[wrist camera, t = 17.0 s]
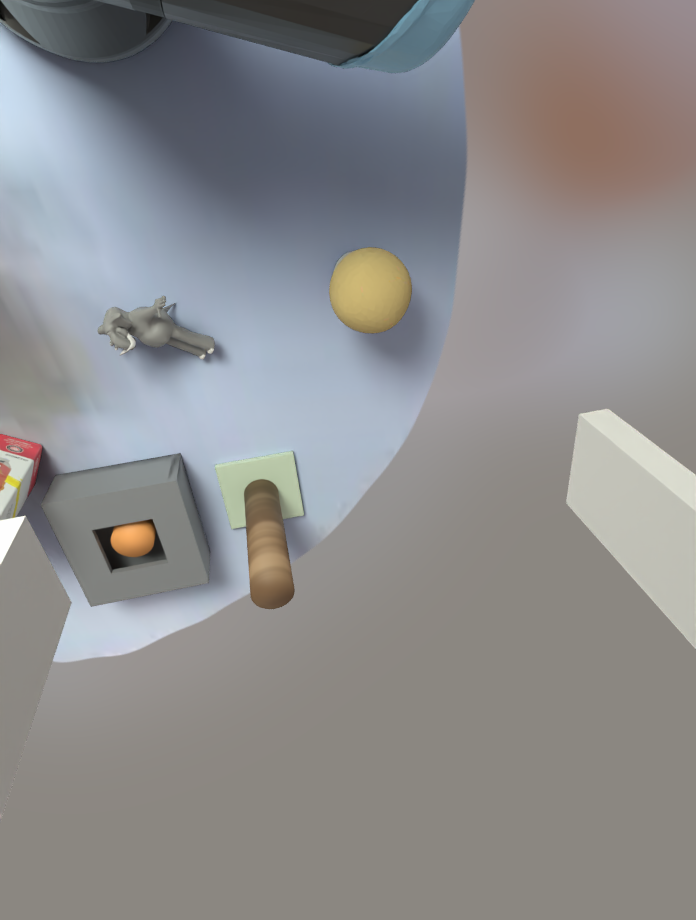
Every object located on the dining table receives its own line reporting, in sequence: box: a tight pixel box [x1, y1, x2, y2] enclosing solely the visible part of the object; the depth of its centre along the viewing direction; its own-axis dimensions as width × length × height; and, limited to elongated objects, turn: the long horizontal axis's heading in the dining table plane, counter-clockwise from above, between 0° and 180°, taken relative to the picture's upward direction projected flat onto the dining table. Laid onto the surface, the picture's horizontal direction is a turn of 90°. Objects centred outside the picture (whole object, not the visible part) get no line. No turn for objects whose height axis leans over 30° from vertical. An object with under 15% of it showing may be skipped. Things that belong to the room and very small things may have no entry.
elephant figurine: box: [98, 296, 215, 359], centre depth 46 cm, size 10×6×9 cm
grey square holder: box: [41, 454, 210, 607], centre depth 55 cm, size 13×12×5 cm
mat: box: [215, 451, 304, 529], centre depth 58 cm, size 8×8×1 cm
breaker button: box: [111, 519, 156, 557], centre depth 55 cm, size 4×4×3 cm
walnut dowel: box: [244, 479, 294, 609], centre depth 52 cm, size 4×4×15 cm
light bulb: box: [329, 247, 412, 333], centre depth 44 cm, size 6×6×10 cm
